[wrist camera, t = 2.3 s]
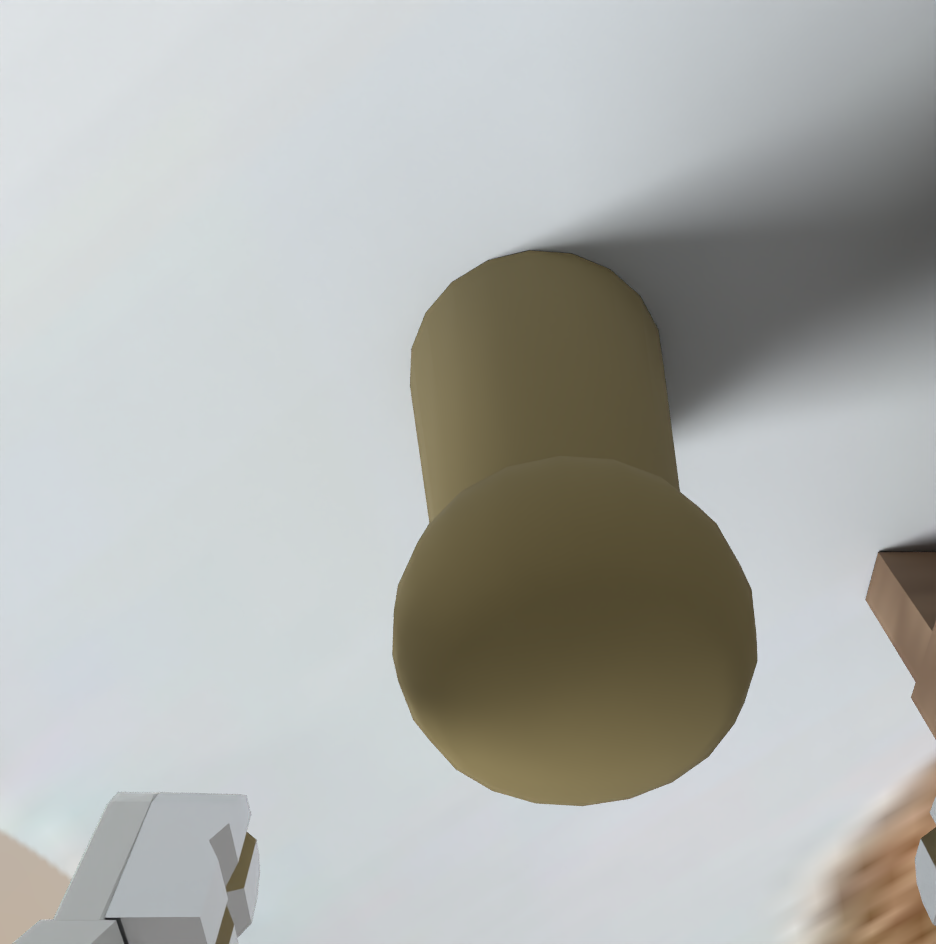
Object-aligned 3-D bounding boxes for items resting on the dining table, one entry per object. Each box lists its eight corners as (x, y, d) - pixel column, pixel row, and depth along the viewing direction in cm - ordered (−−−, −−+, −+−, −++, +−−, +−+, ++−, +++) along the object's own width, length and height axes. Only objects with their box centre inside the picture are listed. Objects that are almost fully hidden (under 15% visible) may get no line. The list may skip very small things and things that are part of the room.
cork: (667, 238, 19) (854, 509, 9) (660, 476, 22) (797, 861, 12) (394, 261, 19) (308, 544, 10) (424, 492, 22) (382, 879, 13)
